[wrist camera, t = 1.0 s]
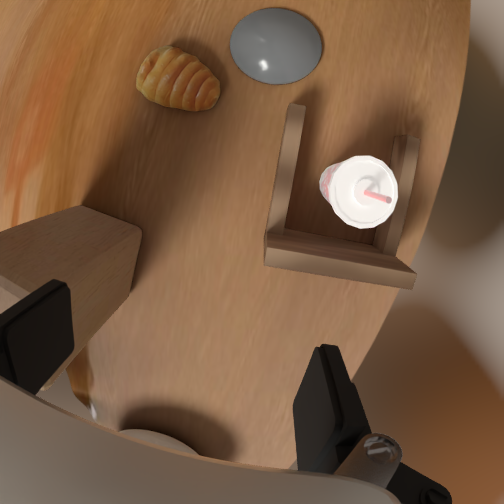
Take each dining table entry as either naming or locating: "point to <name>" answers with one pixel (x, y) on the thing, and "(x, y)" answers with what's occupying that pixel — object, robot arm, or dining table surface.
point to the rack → (334, 249)
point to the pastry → (177, 80)
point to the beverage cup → (360, 190)
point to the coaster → (275, 46)
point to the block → (71, 266)
